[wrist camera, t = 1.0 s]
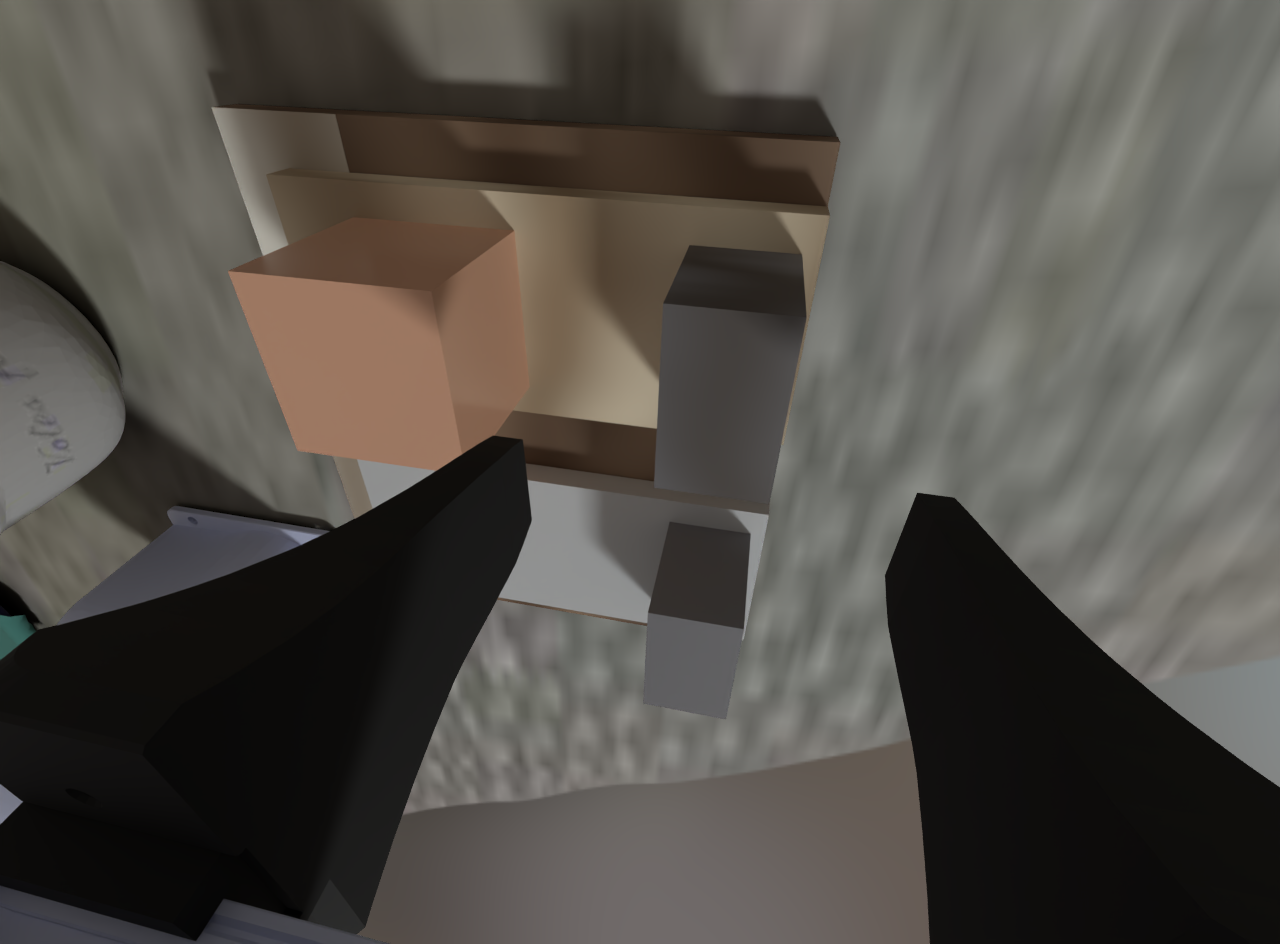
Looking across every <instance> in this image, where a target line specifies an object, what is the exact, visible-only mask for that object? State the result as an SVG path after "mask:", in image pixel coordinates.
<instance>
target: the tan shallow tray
mask: <svg viewBox="0 0 1280 944" xmlns="http://www.w3.org/2000/svg"><path fill="white" fill-rule="evenodd" d="M266 176H267V180H268V183H269V186H270V189H271V192H272V195H273V198H274V201H275V205H276V208H277V211H278V214H279V217H280V220H281V223H282V226H283V230H284V233H285V236H286V239H287V242H288V245H290V244H292V243H294V242H297V241H299V240H301V239H304V238H306V237H308V236H311V235H313V234H315V233H318V232H320V231H322V230H325V229H327V228H329V227H332V226H334V225H336V224H339V223H341V222H343V221H346V220H348V219H350V218H353V217H356V218H368V219H381V220H393V221H405V222H417V223H429V224H441V225H453V226H465V227H477V228H490V229H502V230H514V231H515V241H516V252H517V262H518V272H519V282H520V293H521V303H522V313H523V324H524V334H525V344H526V354H527V365H528V375H529V385H530V387H529V389H528V390H527V391H526V393H525V394H524V396H523V397H522V398H521V400H520V401H519V402H518V404H517V405H516V407H515V408H514V409H513V410H514V411H522V412H530V413H538V414H546V415H553V416H561V417H569V418H577V419H585V420H593V421H600V422H608V423H616V424H624V425H632V426H640V427H648V428H655V429H657V436H656V457H655V477H654V488H660V489H667V490H674V491H681V492H688V493H695V494H702V495H709V496H716V497H723V498H730V499H737V500H744V501H752V502H759V503H766V504H769V502H770V497H771V492H772V487H773V482H774V477H775V473H776V468H777V463H778V458H779V453H780V448H781V445H783V443H784V439H785V434H786V429H787V424H788V419H789V414H790V409H791V404H792V399H793V394H794V389H795V385H796V380H797V375H798V370H799V365H800V360H801V355H802V350H803V345H804V340H805V335H806V331H807V326H808V321H809V316H810V311H811V306H812V301H813V296H814V291H815V286H816V281H817V277H818V272H819V267H820V262H821V257H822V252H823V247H824V242H825V237H826V232H827V227H828V223H829V218H830V214H829V210H828V207H827V206H813V205H799V204H785V203H771V202H757V201H743V200H729V199H715V198H701V197H686V196H672V195H658V194H644V193H630V192H616V191H602V190H588V189H574V188H560V187H546V186H532V185H518V184H504V183H489V182H475V181H461V180H447V179H433V178H419V177H405V176H391V175H377V174H363V173H349V172H335V171H321V170H307V169H293V168H288V169H284V170H280V171H277V172H273V173H269V174H266Z"/></svg>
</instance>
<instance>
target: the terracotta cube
mask: <svg viewBox="0 0 1280 944" xmlns="http://www.w3.org/2000/svg"><path fill="white" fill-rule="evenodd" d="M228 273H229V275H230V278H231V280H232V283H233V285H234V288H235V291H236V293H237V296H238V298H239V301H240V303H241V306H242V309H243V311H244V314H245V316H246V319H247V321H248V324H249V327H250V329H251V332H252V334H253V337H254V339H255V342H256V345H257V347H258V350H259V352H260V355H261V357H262V360H263V363H264V365H265V368H266V370H267V373H268V375H269V378H270V381H271V383H272V386H273V388H274V391H275V393H276V396H277V399H278V401H279V404H280V406H281V409H282V411H283V414H284V417H285V419H286V422H287V424H288V427H289V429H290V432H291V435H292V437H293V440H294V442H295V445H296V447H297V450H298V451H304V452H311V453H317V454H324V455H331V456H338V457H345V458H352V459H359V460H366V461H372V462H379V463H386V464H393V465H400V466H407V467H414V468H421V469H427V470H434V471H437V470H438V469H440V468H441V467H443V466H444V465H446V464H448V463H449V462H451V461H452V460H454V459H455V458H457V457H458V456H460V455H462V454H463V453H465V452H466V451H468V450H469V449H471V448H473V447H474V446H476V445H477V444H479V443H481V442H482V441H484V440H486V439H487V438H489V437H491V436H493V435H494V436H495V434H496V433H497V431H498V430H499V429H500V427H501V426H502V425H503V423H504V422H505V420H506V419H507V418H508V416H509V415H510V414H511V412H512V411H513V409H514V408H515V407H516V405H517V404H518V402H519V401H520V400H521V398H522V397H523V396H524V394H525V393H526V391H527V390H528V389H529V387H530V385H529V375H528V365H527V354H526V344H525V334H524V324H523V313H522V303H521V293H520V282H519V272H518V262H517V252H516V241H515V231H514V230H502V229H490V228H477V227H465V226H453V225H441V224H429V223H417V222H405V221H393V220H381V219H368V218H356V217H353V218H350V219H348V220H346V221H343V222H341V223H339V224H336V225H334V226H332V227H329V228H327V229H325V230H322V231H320V232H318V233H315V234H313V235H311V236H308V237H306V238H304V239H301V240H299V241H297V242H294V243H292V244H290V245H287V246H285V247H283V248H280V249H278V250H276V251H273V252H271V253H269V254H266V255H264V256H262V257H259V258H257V259H255V260H252V261H250V262H248V263H245V264H243V265H241V266H238V267H236V268H234V269H231V270H229V271H228Z"/></svg>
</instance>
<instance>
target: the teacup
mask: <svg viewBox="0 0 1280 944" xmlns="http://www.w3.org/2000/svg"><path fill="white" fill-rule="evenodd" d="M124 425H125V403H124V399H123V383H122V378H121V374H120V370H119V367H118V364H117V362H116V359H115V357H114V356H113V354H112V352H111V350H110V349H109V347H108V345H107V344H106V342H105V341H104V339H103V338H102V337H101V335H100V334H99V333H98V331H97V330H96V329H95V328H94V327H93V326H92V324H91V323H90V322H89V321H88V320H87V318H86V317H85V316H84V315H83V314H82V313H81V312H80V311H79V310H78V309H76V308H75V307H74V306H73V305H72V304H71V303H70V302H69V301H68V300H66V299H65V298H64V297H63V296H62V295H60V294H59V293H58V292H57V291H55V290H54V289H53V288H51V287H50V286H48V285H47V284H46V283H44V282H42V281H41V280H39V279H38V278H36V277H34V276H32V275H31V274H29V273H27V272H25V271H23V270H21V269H18V268H16V267H14V266H12V265H9V264H7V263H5V262H2V261H0V535H1V533H2V532H3V531H4V530H6V529H7V528H9V527H11V526H12V525H14V524H15V523H17V522H18V521H20V520H21V519H23V518H24V517H26V516H27V515H29V514H31V513H32V512H33V511H35V510H36V509H38V508H39V507H41V506H42V505H44V504H45V503H47V502H48V501H50V500H51V499H53V498H54V497H56V496H57V495H59V494H60V493H62V492H63V491H65V490H66V489H67V488H69V487H70V486H72V485H73V484H74V483H76V482H77V481H78V480H80V479H81V478H83V477H84V476H85V475H87V474H88V473H89V472H90V471H92V470H93V469H94V468H95V467H97V466H98V465H99V464H100V463H101V462H102V461H104V460H105V459H106V458H107V457H108V455H109V454H110V453H111V452H112V451H113V450H114V448H115V447H116V445H117V444H118V442H119V440H120V438H121V436H122V433H123V430H124Z"/></svg>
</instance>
